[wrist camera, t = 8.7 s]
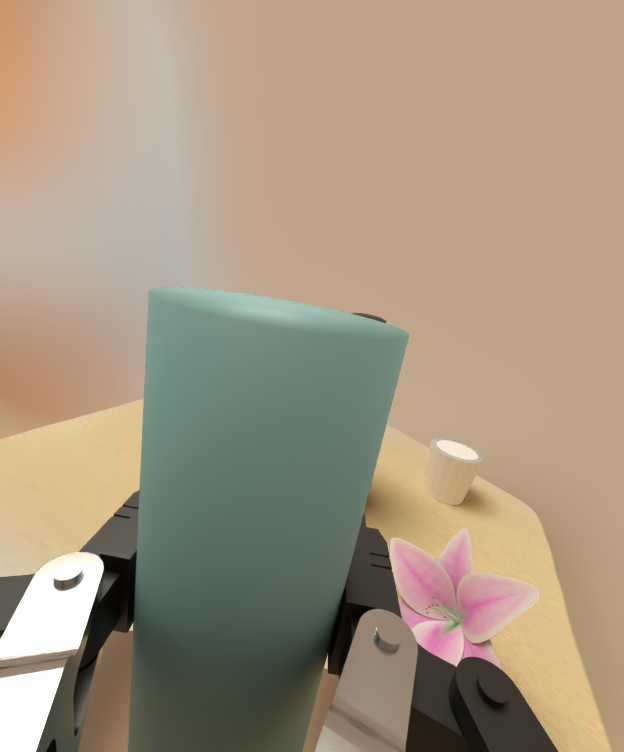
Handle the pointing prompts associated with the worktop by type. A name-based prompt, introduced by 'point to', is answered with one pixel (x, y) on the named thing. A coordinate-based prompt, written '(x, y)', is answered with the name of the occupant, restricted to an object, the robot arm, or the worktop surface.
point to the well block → (112, 700)
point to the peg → (248, 511)
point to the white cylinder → (450, 470)
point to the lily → (455, 599)
